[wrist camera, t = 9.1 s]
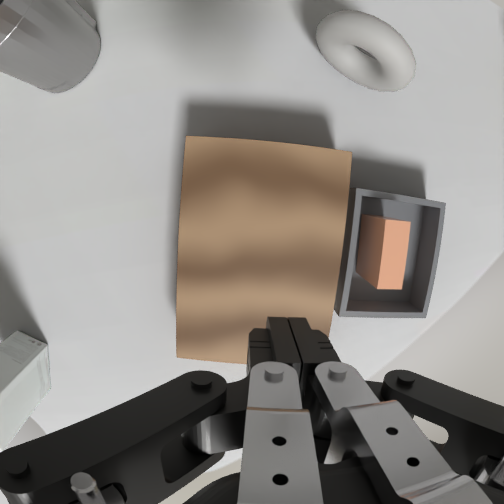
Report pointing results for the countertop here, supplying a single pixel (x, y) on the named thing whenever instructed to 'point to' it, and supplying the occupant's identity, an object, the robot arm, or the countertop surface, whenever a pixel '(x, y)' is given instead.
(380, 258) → the tile
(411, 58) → the donut
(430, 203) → the bin
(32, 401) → the skincare box
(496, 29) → the countertop surface
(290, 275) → the chopping block
